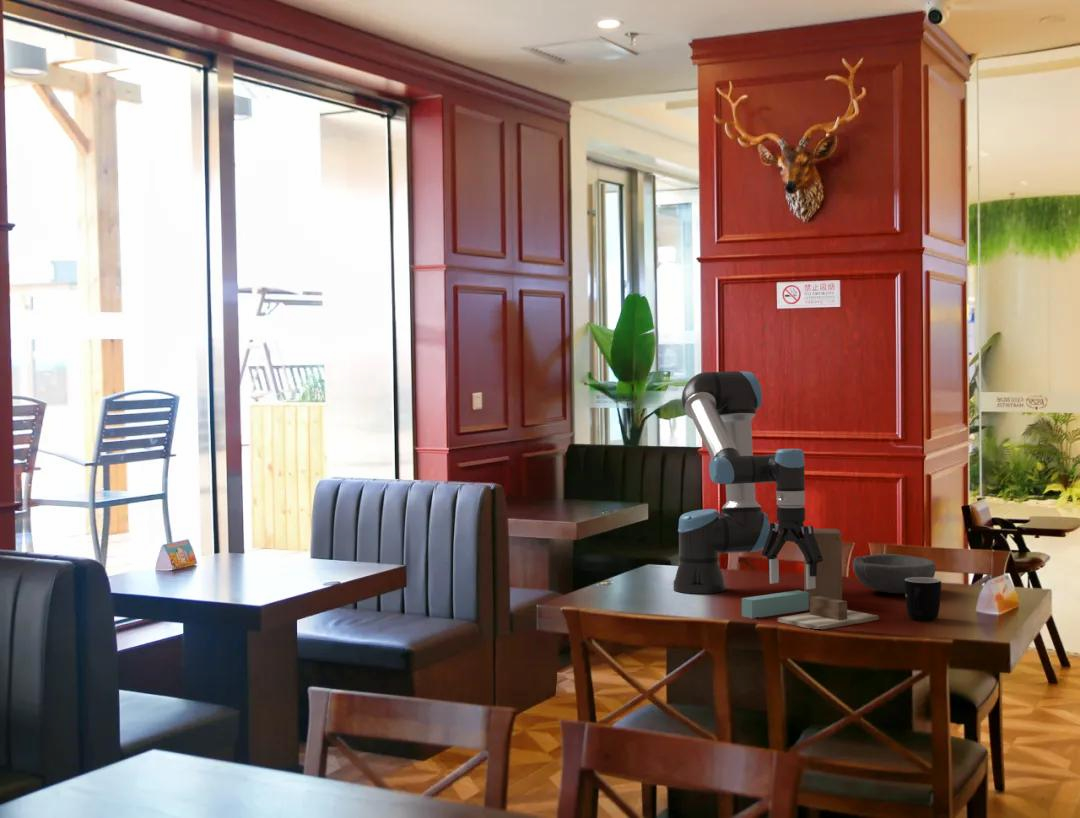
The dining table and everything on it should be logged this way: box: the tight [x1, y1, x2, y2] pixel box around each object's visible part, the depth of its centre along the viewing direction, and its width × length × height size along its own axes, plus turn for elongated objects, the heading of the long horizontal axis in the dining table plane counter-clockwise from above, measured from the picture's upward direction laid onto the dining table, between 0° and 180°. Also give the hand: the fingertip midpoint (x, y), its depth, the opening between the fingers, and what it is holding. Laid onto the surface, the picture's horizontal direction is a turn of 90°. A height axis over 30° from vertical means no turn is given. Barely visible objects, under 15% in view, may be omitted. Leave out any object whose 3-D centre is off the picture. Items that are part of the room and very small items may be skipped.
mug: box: [904, 577, 942, 622], centre depth 321 cm, size 12×9×10 cm
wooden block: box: [803, 528, 843, 606], centre depth 348 cm, size 10×10×20 cm
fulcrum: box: [777, 596, 880, 630], centre depth 322 cm, size 14×22×6 cm, turn 124°
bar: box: [741, 590, 810, 619], centre depth 334 cm, size 4×20×5 cm, turn 122°
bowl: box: [851, 553, 937, 595], centre depth 361 cm, size 23×22×10 cm
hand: (792, 585), depth 337 cm, fingers open, 13 cm apart
